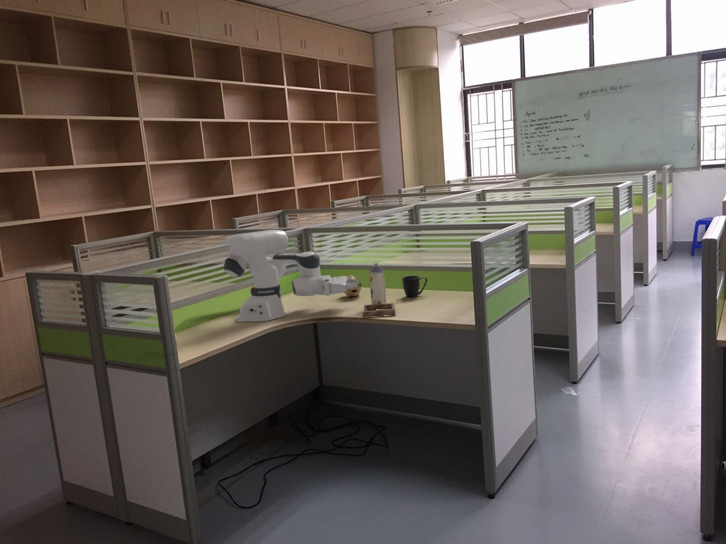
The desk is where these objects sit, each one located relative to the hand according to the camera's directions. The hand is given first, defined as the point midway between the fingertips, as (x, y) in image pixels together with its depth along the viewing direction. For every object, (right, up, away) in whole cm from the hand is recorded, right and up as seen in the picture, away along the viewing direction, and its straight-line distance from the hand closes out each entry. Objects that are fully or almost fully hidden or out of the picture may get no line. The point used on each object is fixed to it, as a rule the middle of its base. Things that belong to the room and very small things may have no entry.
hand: (357, 282), depth 282 cm
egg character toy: (-2, -8, +27) cm, 28 cm away
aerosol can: (+10, -11, +1) cm, 15 cm away
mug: (+28, -7, +16) cm, 33 cm away
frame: (+10, -13, -12) cm, 20 cm away
